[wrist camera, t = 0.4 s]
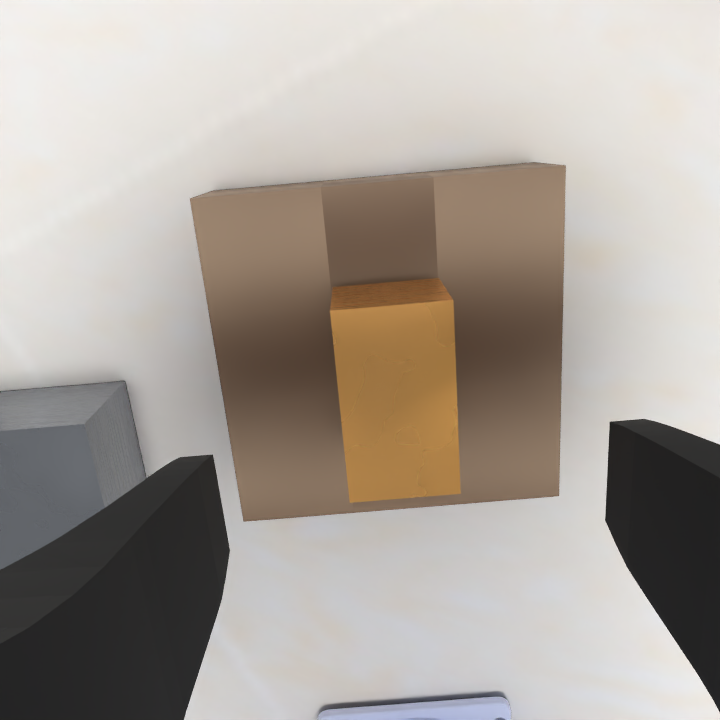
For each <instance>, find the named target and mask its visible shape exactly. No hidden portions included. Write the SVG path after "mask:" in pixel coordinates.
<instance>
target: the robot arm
mask: <svg viewBox="0 0 720 720" xmlns="http://www.w3.org/2000/svg"><path fill="white" fill-rule="evenodd" d="M605 521H606V523H607V525H608V527H609V530H610V532H611V534H612V536H613V539H614V541H615V543H616V545H617V547H618V549H619V552H620V554H621V556H622V558H623V560H624V562H625V564H626V566H627V568H628V569H629V571H630V572H631V574H632V576H633V577H634V579H635V580H636V582H637V583H638V585H639V586H640V588H641V589H642V591H643V593H644V594H645V596H646V597H647V599H648V600H649V602H650V603H651V605H652V606H653V608H654V609H655V611H656V612H657V614H658V615H659V617H660V618H661V620H662V621H663V623H664V624H665V626H666V627H667V629H668V630H669V632H670V633H671V635H672V636H673V638H674V639H675V641H676V642H677V644H678V645H679V647H680V648H681V650H682V651H683V653H684V654H685V656H686V657H687V659H688V660H689V662H690V663H691V665H692V666H693V668H694V669H695V671H696V672H697V674H698V675H699V677H700V679H701V680H702V682H703V684H704V685H705V687H706V689H707V690H708V692H709V694H710V695H711V697H712V699H713V700H714V702H715V704H716V706H717V708H718V710H719V712H720V445H719V444H716V443H714V442H711V441H709V440H706V439H703V438H701V437H698V436H695V435H693V434H690V433H687V432H685V431H682V430H679V429H676V428H674V427H671V426H668V425H665V424H662V423H658V422H655V421H651V420H646V419H639V420H627V421H615V422H610V431H609V452H608V474H607V495H606V517H605ZM229 553H230V549H229V543H228V538H227V532H226V526H225V521H224V515H223V509H222V504H221V498H220V492H219V487H218V481H217V475H216V470H215V464H214V458H213V455H203V456H191V457H180V458H178V459H176V460H174V461H172V462H170V463H169V464H167V465H166V466H164V467H162V468H161V469H159V470H158V471H157V472H155V473H154V474H152V475H151V476H149V477H148V478H147V479H145V480H144V481H142V482H141V483H140V484H138V485H137V486H135V487H134V488H132V489H131V490H130V491H128V492H127V493H125V494H124V495H123V496H121V497H120V498H118V499H117V500H115V501H114V502H113V503H111V504H110V505H108V506H107V507H105V508H104V509H102V510H101V511H99V512H98V513H96V514H95V515H93V516H92V517H90V518H88V519H87V520H85V521H84V522H82V523H81V524H79V525H78V526H76V527H74V528H73V529H71V530H70V531H68V532H67V533H65V534H64V535H62V536H61V537H59V538H57V539H55V540H54V541H52V542H50V543H49V544H47V545H45V546H43V547H42V548H40V549H38V550H36V551H35V552H33V553H31V554H29V555H27V556H25V557H23V558H22V559H20V560H18V561H16V562H14V563H12V564H10V565H8V566H6V567H5V568H3V569H1V570H0V720H184V717H185V713H186V710H187V707H188V704H189V701H190V697H191V694H192V691H193V688H194V685H195V682H196V679H197V676H198V673H199V670H200V666H201V663H202V660H203V657H204V654H205V651H206V648H207V645H208V642H209V639H210V635H211V632H212V629H213V626H214V623H215V619H216V616H217V613H218V610H219V606H220V603H221V600H222V595H223V589H224V584H225V578H226V572H227V566H228V559H229ZM499 717H501V718H499ZM496 718H499V719H496ZM318 720H511V709H510V705H509V702H508V701H507V699H505V698H503V697H484V698H471V699H458V700H445V701H432V702H419V703H406V704H393V705H380V706H367V707H354V708H341V709H328V710H324V711H322V712H321V713H320V714H319V715H318Z"/></svg>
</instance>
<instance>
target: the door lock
mask: <svg viewBox="0 0 720 720" xmlns="http://www.w3.org/2000/svg"><path fill="white" fill-rule="evenodd" d="M145 479H146V476H145V471H144V467H143V462H142V457H141V453H140V448H139V444H138V439H137V435H136V430H135V425H134V421H133V416H132V412H131V407H130V403H129V398H128V393H127V389H126V384H125V381H120V382H109V383H97V384H85V385H73V386H61V387H49V388H37V389H25V390H14V391H2V392H0V570H1V569H3V568H5V567H6V566H8V565H10V564H12V563H14V562H16V561H18V560H20V559H22V558H23V557H25V556H27V555H29V554H31V553H33V552H35V551H36V550H38V549H40V548H42V547H43V546H45V545H47V544H49V543H50V542H52V541H54V540H55V539H57V538H59V537H61V536H62V535H64V534H65V533H67V532H68V531H70V530H71V529H73V528H74V527H76V526H78V525H79V524H81V523H82V522H84V521H85V520H87V519H88V518H90V517H92V516H93V515H95V514H96V513H98V512H99V511H101V510H102V509H104V508H105V507H107V506H108V505H110V504H111V503H113V502H114V501H115V500H117V499H118V498H120V497H121V496H123V495H124V494H125V493H127V492H128V491H130V490H131V489H132V488H134V487H135V486H137V485H138V484H140V483H141V482H142V481H144V480H145Z"/></svg>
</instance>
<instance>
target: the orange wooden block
mask: <svg viewBox="0 0 720 720" xmlns="http://www.w3.org/2000/svg"><path fill="white" fill-rule="evenodd" d="M330 316H331V326H332V336H333V345H334V355H335V365H336V375H337V384H338V394H339V404H340V414H341V423H342V433H343V443H344V453H345V462H346V472H347V482H348V492H349V501H350V503H354V502H366V501H378V500H391V499H403V498H415V497H427V496H440V495H452V494H461V490H460V463H459V436H458V409H457V382H456V355H455V328H454V301H453V299H452V297H451V296H450V294H449V293H448V291H447V290H446V288H445V287H444V285H443V284H442V282H441V280H440V279H439V278H432V279H420V280H408V281H397V282H385V283H374V284H362V285H350V286H339V287H333V289H332V298H331V306H330Z"/></svg>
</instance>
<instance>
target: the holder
mask: <svg viewBox="0 0 720 720" xmlns="http://www.w3.org/2000/svg"><path fill="white" fill-rule="evenodd" d="M565 174H566V166H565V165H556V164H546V163H536V162H532V163H521V164H510V165H498V166H487V167H476V168H464V169H453V170H442V171H430V172H419V173H408V174H396V175H385V176H374V177H362V178H351V179H340V180H328V181H317V182H306V183H294V184H283V185H272V186H260V187H249V188H238V189H226V190H215V191H211V192H208V193H205V194H202V195H199V196H196V197H193V198H190V202H191V208H192V214H193V220H194V226H195V232H196V238H197V244H198V250H199V256H200V262H201V268H202V274H203V280H204V286H205V292H206V298H207V304H208V310H209V316H210V322H211V328H212V334H213V340H214V346H215V352H216V358H217V364H218V371H219V377H220V383H221V389H222V395H223V401H224V407H225V413H226V419H227V425H228V431H229V437H230V443H231V449H232V455H233V461H234V467H235V473H236V479H237V485H238V491H239V497H240V503H241V509H242V515H243V521H244V522H245V521H257V520H270V519H282V518H294V517H307V516H319V515H331V514H344V513H356V512H368V511H381V510H393V509H405V508H418V507H430V506H442V505H455V504H467V503H479V502H492V501H504V500H516V499H529V498H541V497H553V496H559V470H560V421H561V371H562V322H563V273H564V224H565ZM432 278H439V279H440V280H441V282H442V284H443V285H444V287H445V288H446V290H447V291H448V293H449V294H450V296H451V297H452V299H453V301H454V328H455V355H456V382H457V409H458V436H459V463H460V490H461V494H452V495H440V496H427V497H415V498H403V499H391V500H378V501H366V502H354V503H350V501H349V492H348V482H347V472H346V462H345V453H344V443H343V433H342V423H341V414H340V404H339V394H338V384H337V375H336V365H335V355H334V345H333V336H332V326H331V316H330V306H331V298H332V289H333V287H339V286H350V285H362V284H374V283H385V282H397V281H408V280H420V279H432Z"/></svg>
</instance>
